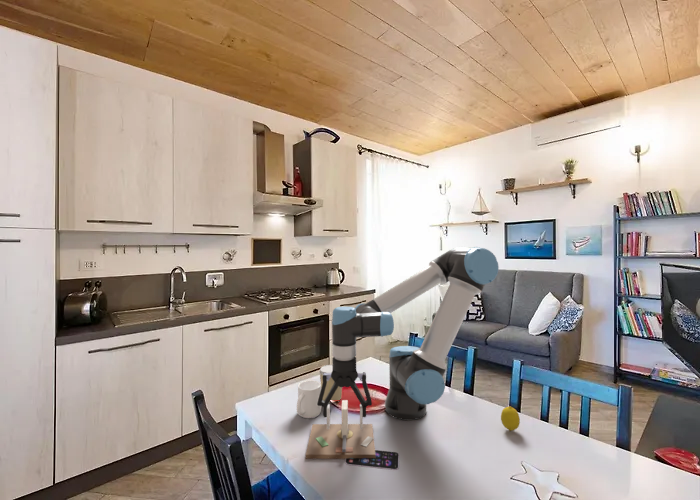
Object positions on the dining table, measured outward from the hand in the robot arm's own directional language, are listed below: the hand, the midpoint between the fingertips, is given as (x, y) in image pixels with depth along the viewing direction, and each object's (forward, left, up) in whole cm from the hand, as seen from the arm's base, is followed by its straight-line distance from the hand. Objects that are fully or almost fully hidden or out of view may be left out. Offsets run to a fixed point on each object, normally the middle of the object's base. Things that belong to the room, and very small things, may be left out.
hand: (344, 426), depth 104 cm
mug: (+14, -14, -4) cm, 20 cm away
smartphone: (-8, +10, -4) cm, 13 cm away
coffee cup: (+6, -27, -4) cm, 28 cm away
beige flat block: (0, +3, -2) cm, 4 cm away
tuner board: (+1, +2, -4) cm, 4 cm away
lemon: (-54, -4, -4) cm, 54 cm away
